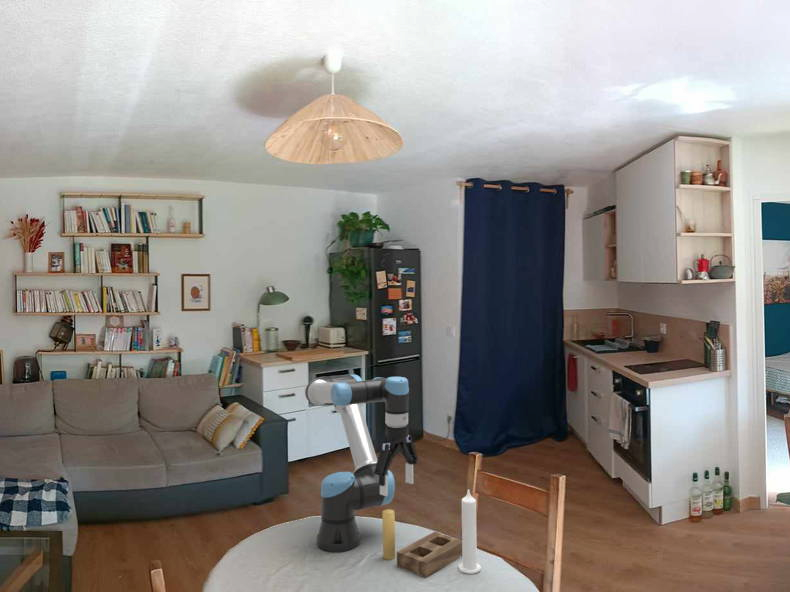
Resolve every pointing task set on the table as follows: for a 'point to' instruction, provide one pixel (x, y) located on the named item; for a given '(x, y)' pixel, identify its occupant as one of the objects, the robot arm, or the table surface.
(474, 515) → the candle
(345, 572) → the table surface
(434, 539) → the socket block
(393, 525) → the peg
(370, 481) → the robot arm
